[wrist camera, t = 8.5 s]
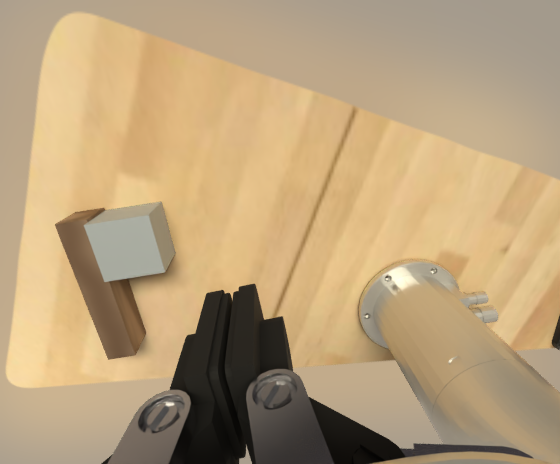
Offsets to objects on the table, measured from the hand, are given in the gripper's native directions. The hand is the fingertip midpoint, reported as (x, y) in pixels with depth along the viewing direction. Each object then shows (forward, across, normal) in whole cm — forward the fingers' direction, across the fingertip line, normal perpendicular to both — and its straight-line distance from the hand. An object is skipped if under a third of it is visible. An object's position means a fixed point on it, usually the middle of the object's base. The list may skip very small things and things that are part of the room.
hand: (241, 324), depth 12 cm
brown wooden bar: (+26, +18, +8) cm, 32 cm away
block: (+26, +13, +3) cm, 29 cm away
